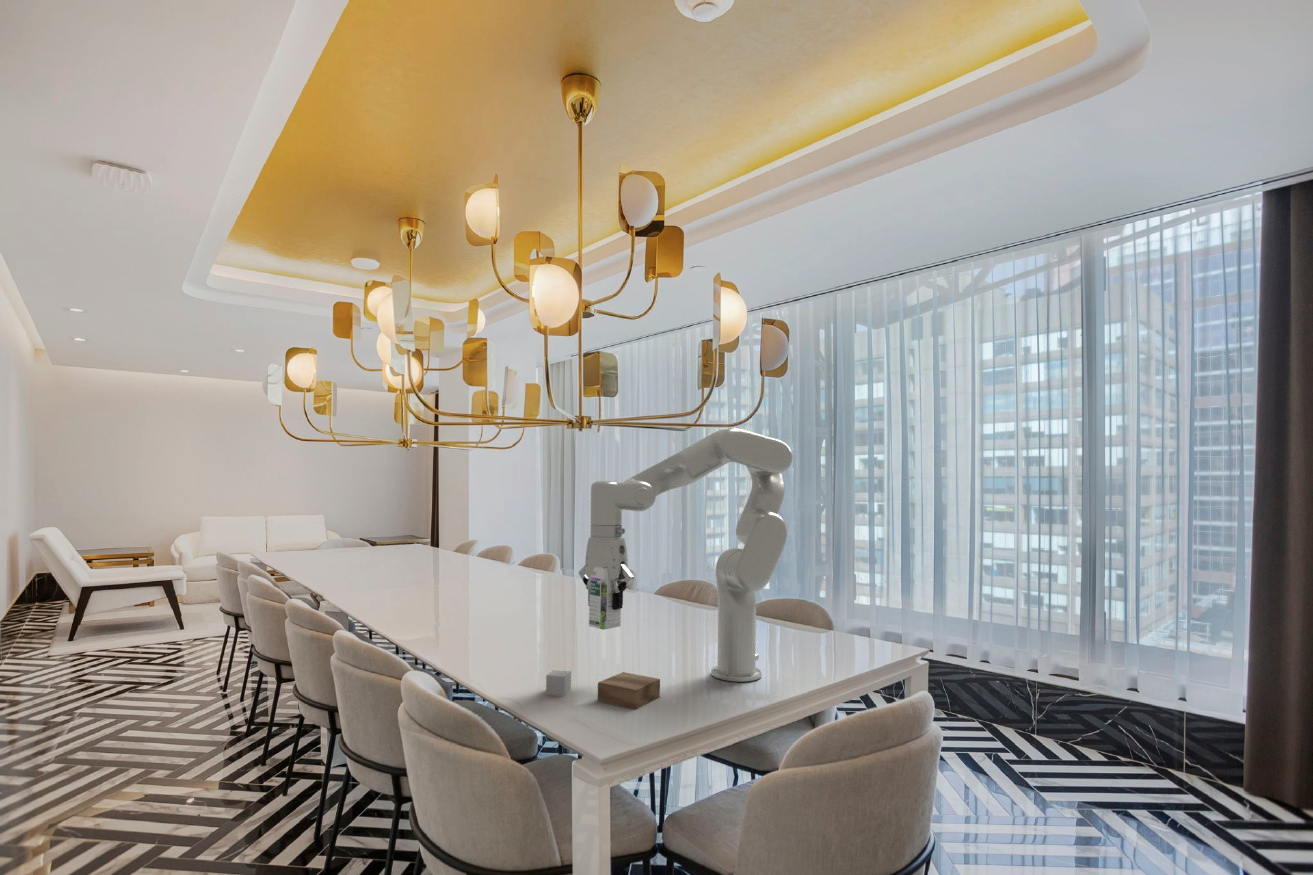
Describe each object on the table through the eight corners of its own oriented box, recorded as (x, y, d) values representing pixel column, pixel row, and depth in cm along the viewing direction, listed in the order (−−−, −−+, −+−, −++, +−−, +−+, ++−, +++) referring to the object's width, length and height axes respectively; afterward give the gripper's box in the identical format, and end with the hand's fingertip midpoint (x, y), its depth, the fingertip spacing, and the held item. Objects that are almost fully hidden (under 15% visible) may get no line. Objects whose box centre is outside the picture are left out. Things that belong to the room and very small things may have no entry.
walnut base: (622, 689, 161) (623, 672, 161) (659, 697, 156) (659, 679, 156) (597, 701, 152) (597, 682, 153) (635, 709, 147) (636, 690, 147)
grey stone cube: (552, 689, 161) (553, 670, 161) (570, 690, 160) (571, 671, 160) (545, 695, 156) (546, 675, 157) (564, 696, 155) (564, 676, 156)
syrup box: (587, 626, 166) (588, 565, 166) (606, 623, 170) (607, 563, 171) (602, 630, 161) (603, 567, 162) (621, 626, 166) (622, 565, 166)
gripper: (644, 533, 165) (644, 608, 164) (587, 529, 175) (586, 601, 174) (626, 535, 159) (625, 614, 158) (568, 531, 168) (567, 606, 167)
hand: (605, 606), depth 166 cm, fingers closed on syrup box, 6 cm apart
